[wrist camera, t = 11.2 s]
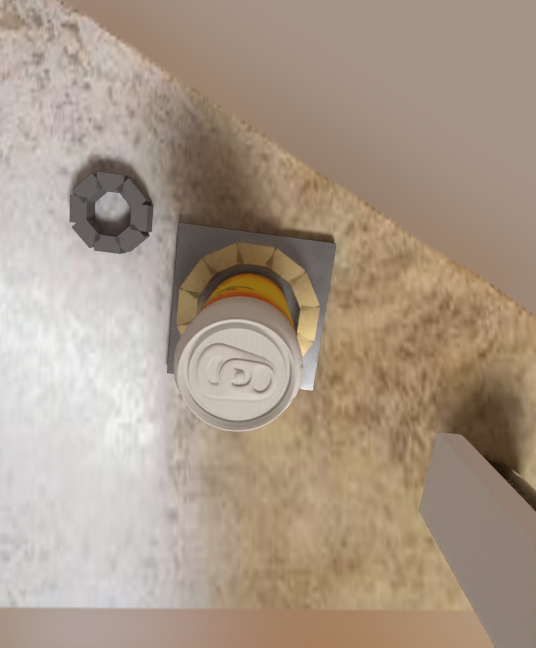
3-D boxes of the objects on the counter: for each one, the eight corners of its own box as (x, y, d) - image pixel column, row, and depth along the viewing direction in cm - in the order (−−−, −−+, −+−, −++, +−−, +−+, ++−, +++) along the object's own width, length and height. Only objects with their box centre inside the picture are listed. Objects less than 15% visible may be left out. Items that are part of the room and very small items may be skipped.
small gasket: (77, 246, 33) (69, 247, 31) (79, 170, 31) (70, 168, 30) (150, 255, 33) (144, 256, 31) (154, 180, 32) (149, 178, 30)
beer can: (217, 264, 32) (179, 296, 18) (294, 280, 33) (319, 324, 18) (204, 339, 34) (158, 426, 19) (278, 353, 34) (289, 450, 19)
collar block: (169, 369, 35) (161, 381, 32) (181, 222, 32) (173, 222, 30) (311, 386, 36) (315, 400, 33) (334, 243, 33) (341, 244, 30)
